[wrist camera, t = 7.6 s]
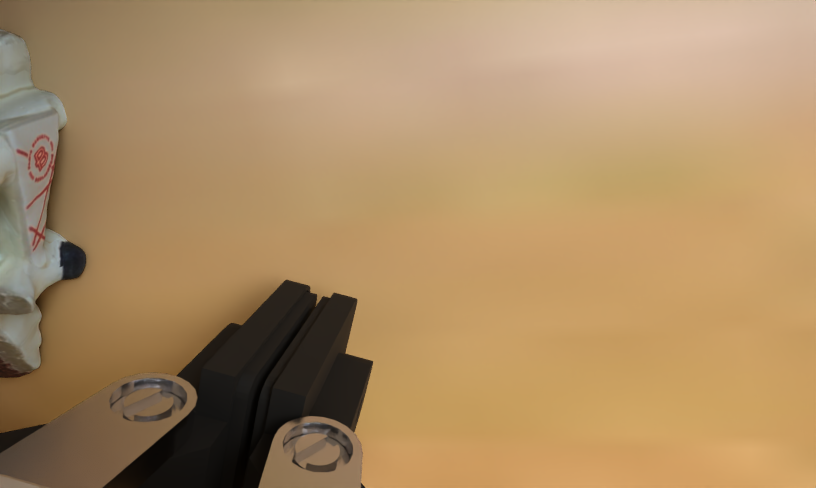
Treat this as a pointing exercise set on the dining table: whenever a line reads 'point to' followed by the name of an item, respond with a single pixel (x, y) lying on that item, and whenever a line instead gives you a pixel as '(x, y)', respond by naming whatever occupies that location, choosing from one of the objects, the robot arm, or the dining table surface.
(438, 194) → the dining table surface
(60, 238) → the chocolate cake
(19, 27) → the dining table surface
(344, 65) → the dining table surface
